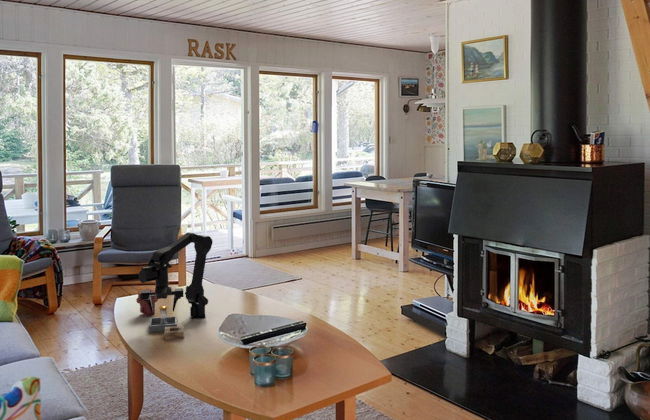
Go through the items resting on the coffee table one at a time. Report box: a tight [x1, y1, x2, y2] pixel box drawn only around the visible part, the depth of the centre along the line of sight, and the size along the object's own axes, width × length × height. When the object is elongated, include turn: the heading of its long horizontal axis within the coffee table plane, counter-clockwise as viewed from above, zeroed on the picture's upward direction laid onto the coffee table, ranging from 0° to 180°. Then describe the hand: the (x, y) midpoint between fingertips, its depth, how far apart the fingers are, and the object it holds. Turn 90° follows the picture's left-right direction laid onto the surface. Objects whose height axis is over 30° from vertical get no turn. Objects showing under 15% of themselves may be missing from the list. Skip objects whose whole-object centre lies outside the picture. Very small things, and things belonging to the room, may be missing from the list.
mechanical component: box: [135, 288, 159, 317], centre depth 289 cm, size 12×10×10 cm
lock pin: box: [158, 305, 168, 325], centre depth 270 cm, size 3×3×9 cm
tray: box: [148, 315, 178, 334], centre depth 270 cm, size 12×12×3 cm
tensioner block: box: [164, 325, 185, 341], centre depth 259 cm, size 8×8×3 cm
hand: (162, 312), depth 269 cm, fingers open, 9 cm apart
